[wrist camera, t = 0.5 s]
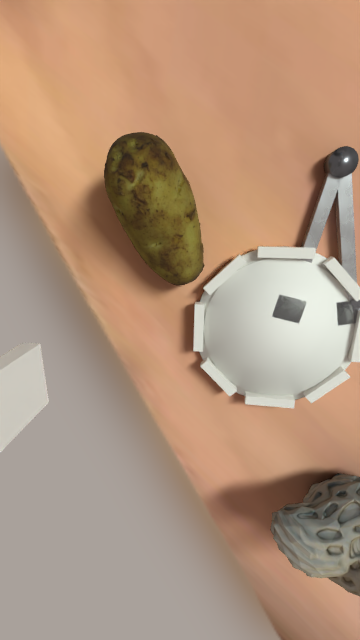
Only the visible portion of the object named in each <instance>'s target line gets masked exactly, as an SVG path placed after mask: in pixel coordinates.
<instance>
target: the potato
mask: <svg viewBox="0 0 360 640" xmlns="http://www.w3.org/2000/svg"><path fill="white" fill-rule="evenodd" d="M104 178H105V187H106V191H107V194H108V197H109V199H110V201H111V203H112V205H113V207H114V209H115V212H116V214H117V217H118V219H119V221H120V223H121V224H122V226H123V228H124V230H125V231H126V233H127V235H128V236H129V238H130V240H131V242H132V244H133V245H134V247H135V248H136V250H137V251H138V253H139V254H140V256H141V257H142V258H143V260H144V261H145V262H146V264H147V265H148V266H149V267H150V268H151V269H152V270H153V271H154V272H156V273H157V274H158V275H159V276H161V277H162V278H163V279H165V280H166V281H168V282H170V283H172V284H174V285H185V284H187V283H190V282H192V281H194V280H195V279H196V278H197V277H198V276H199V274H200V273H201V272H202V270H203V267H204V263H203V244H202V242H201V231H200V223H199V219H198V214H197V210H196V204H195V200H194V196H193V193H192V190H191V187H190V184H189V182H188V180H187V178H186V177H185V175H184V174H183V172H182V170H181V168H180V166H179V164H178V162H177V160H176V158H175V156H174V154H173V152H172V151H171V149H170V148H169V146H168V145H167V144H166V143H165V142H164V141H163V140H162V139H161V138H159V137H158V136H157V135H156V136H155V135H152V134H149V133H144V132H138V133H131V134H127V135H124V136H122V137H120V138H118V139H117V140H116V141H115V142H114V143H113V144H112V146H111V148H110V150H109V152H108V155H107V161H106V164H105V170H104Z"/></svg>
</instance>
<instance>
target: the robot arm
mask: <svg viewBox="0 0 360 640" xmlns="http://www.w3.org/2000/svg"><path fill="white" fill-rule="evenodd" d="M48 403H49V399H48V392H47V386H46V379H45V373H44V366H43V359H42V353H41V346H40V344H37V343H22V344H20V345H19V346H17V347H15V348H14V349H12V350H11V351H9V352H7V353H5V354H4V355H2V356H0V452H1V451H2V450H3V449H4V448H5V447H6V446H7V445H8V444H9V443H10V442H11V441H12V440H13V439H14V438H15V437H16V436H17V435H18V434H19V433H20V432H21V431H22V429H24V428H25V427H26V426H27V424H28V423H29V422H31V421H32V419H33V418H34V417H35V416H36V415H37V414H38V413H39V412H40V411H41V410H42V409H43V408H44V407H45V406H46V405H47V404H48Z"/></svg>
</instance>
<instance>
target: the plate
mask: <svg viewBox="0 0 360 640" xmlns="http://www.w3.org/2000/svg"><path fill="white" fill-rule="evenodd" d="M315 251H316V248H314V247H289V246H258V247H257V250H254V251H251V252H248V253H246V254H244V255H242V256H241V255H240V254H238V255H237V256H236V257H235V258H234V259H233V260H232V261H231V262H230V263H228V264H227V265H226V266H225V267H223V268H222V269H221V270H220V271H219V272H218V273H217V274H216V275H215V276H214V277H213V278H212V279H211V280H210V281H209V282H208V283H207V284H205V285H204V287H203V288H204V290H205V291H204V293H203V294H202V297H201V300H200V302H195V313H194V348H193V351H199V352H200V355H201V357H202V359H203V361H202V362H201V365H200V367H201V368H202V369H203V370H204V371H205V372H206V373H207V374H208V375H209V376H210V377H211V378H212V379H213V380H214V381H215V382H216V383H217V384H218V385H219V386H220V387H221V388H222V389H223V390H224V391H225V392H226V393H227V394H228V395H229V396H231V395H233V394H234V393H235V392H237V393H239V394H241V395H244V396H245V404H249V405H261V406H273V407H284V408H294V404H295V399H300V398H303V397H306V398H307V399H308V400H309V401H310V402H311V403H313V402H314V401H316V400H317V399H319V398H320V397H322V396H323V395H324V394H326V393H327V392H329V391H330V390H332V389H333V388H335V387H336V386H338V385H339V384H341V383H342V382H344V381H345V380H347V379H348V378H350V376H349V375H348V374H347V372H346V371H345V369H346V368H347V367H348V366H349V364H350V363H351V362H360V311H359V310H358V313H357V319H356V323H354V322H353V320H354V317H353V316H354V314H352V313H351V312H350V311H349V310H350V309H351V310H353V309H352V308H350V306H352V305H351V304H349V303H348V301H349V302H350V299H349V297H348V295H347V293H348V294H349V295H350V296H351V297H352V298H353V299H354V300H355V301H358V300H360V287H359V286H358V285H357V283H356V282H355V281H354V280H353V279H352V278H351V276H350V275H349V274H348V273H347V272H346V271H345V269H344V268H343V267H342V266H341V265H340V264H339V262H338V261H337V260H336V259H335V258H334V257H332V256H330V257H329V258H328V259H327V258H325V257H323V256H321V255H320V254H317V253H315ZM300 259H313V260H312V263H310V262H307V261H304V260H300ZM344 289H345V290H346V291H347V293H346V292H345V290H344ZM279 294H280V295H281V296H282V295H284V296H288V297H291V299H292V298H294V299H295V298H296V299H300V301H301V303H302V302H303V301H304V302H303V304H304V303H305V305H306V306H305V307H304V311H303V314H302V313H301V312H299V313H301V314H302V317H301V318H300V317H298V318H300V322H299V323H297V322H298V321H299V320H298V321H296V323H295V322H291V321H287V320H283V319H279V318H275V317H272V315H273V314H274V313H276V311H275V312H274V309H275V306H277V307H278V309H279V306H280V305H279V304H278V303H277V300H278V297H279ZM284 296H283V297H284ZM279 298H282V297H279ZM285 298H286V297H285ZM287 299H288V298H286V300H287ZM282 300H283V299H282ZM282 300H280V302H281V301H282ZM288 300H290V299H288ZM288 300H287V301H288ZM283 301H284V300H283ZM291 301H292V300H290V301H289V303H290V302H291ZM294 301H295V302H294V303H295V304H296V303H297V302H296V300H294ZM344 301H347V303H348V305H349V310H348V309H347V308H346V309H345V308H344V307H343V306H342V305H341V304H340V303H341V302H344ZM284 302H286V301H284ZM338 302H340V303H339V304H336V303H338ZM276 303H277V305H276ZM282 303H283V302H282ZM287 303H288V302H287ZM298 303H300V302H298ZM278 305H279V306H278ZM282 305H283V304H282ZM282 305H281V306H282ZM287 305H288V304H287ZM290 305H291V304H289V305H288V306H290ZM292 305H293V304H292ZM296 305H297V304H296ZM299 305H300V304H299ZM301 305H302V304H301ZM339 305H340V307H341V308H339V310H340V309H342V308H344V310H345V311H344V312H345V313H344V312H343V313H341V312H339V313H340V314H344V315H345V314H346V313H349V314H347V315H348V316H349V317H350V318H348V317H347V319H349V320H350V319H351V318H352V321H351V320H350V321H349V320H348V321H347V322H348V323H347V322H346V323H347V325H346V324H345V325H342V324H341V325H339V324H340V322H339V321H340V319H341V318H342V319H343V318H344V317H342V316H344V315H342V316H340V314H339V313H338V310H337V309H338V307H337V306H339ZM293 306H295V305H293ZM346 306H347V305H346ZM283 307H284V305H283ZM297 307H298V308H297ZM297 307H296V309H295V310H297V309H299V306H297ZM280 308H281V307H280ZM285 308H286V307H285ZM288 308H289V307H288ZM288 308H287V309H288ZM290 308H292V307H291V306H290ZM300 308H301V309H302V308H303V306H302V307H300ZM282 309H283V308H282ZM275 310H276V309H275ZM279 310H280V309H279ZM279 310H278V311H279ZM288 310H289V309H288ZM290 310H291V309H290ZM347 310H348V311H347ZM278 311H277V312H278ZM280 311H281V310H280ZM280 311H279V312H280ZM283 311H284V309H283ZM286 311H287V310H286ZM291 311H292V310H291ZM300 311H301V310H300ZM341 311H343V310H341ZM273 312H274V313H273ZM293 312H294V310H293ZM297 312H298V310H297ZM281 313H282V312H281ZM285 313H286V312H285ZM288 313H289V312H288ZM295 313H296V312H295ZM337 313H338V314H339V315H337ZM278 314H279V313H278ZM278 314H275V315H277V316H278ZM283 314H284V313H283ZM290 314H291V312H290ZM290 314H288V315H290ZM297 314H298V313H297ZM297 314H294V316H295V315H297ZM284 315H285V314H284ZM284 315H283V316H284ZM347 315H346V316H347ZM350 315H353V316H352V317H351V316H350ZM280 316H281V315H280ZM283 316H282V317H283ZM286 316H287V315H286ZM290 316H291V315H290ZM298 316H299V315H298ZM300 316H301V315H300ZM337 316H338V317H339V316H340V317H341V318H340V317H339V318H340V319H339V318H338V319H337ZM291 317H292V316H291ZM285 319H287V318H285ZM288 319H289V317H288ZM290 319H293V321H294V317H293V318H290ZM344 319H345V320H347V319H346V318H344ZM295 320H297V319H296V317H295ZM338 320H339V321H338ZM345 320H344V321H343V320H341V322H342V323H343V322H345ZM351 322H352V323H354V324H352V323H351ZM338 325H339V326H338Z"/></svg>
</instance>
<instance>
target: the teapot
mask: <svg viewBox="0 0 360 640" xmlns="http://www.w3.org/2000/svg"><path fill="white" fill-rule="evenodd" d="M271 532H272V533H273V535H274V537H273V539H274V540H275V541H276V542H277V545H278V548H279V550H280V551H281V552H282V553H284V554H285V555H286V556H287V558H288V560H289V561H290V563H291V564H292V566H293V567H294V568H296V569H299V570H301V571H303V572H304V573H306V575H307V576H310V577H317V578H326V577H327V578H329V579H330V580H331V581H333V582H335V583H336V584H338V585H340V586H341V587H343V588H344V589H345V590H347V591H348V592H350V593H353V594H355V595H358V596H360V477H357V476H350V475H346V474H339V473H338V474H337V475H335V476H334V477H333V478H332V479H331V480H329V479H328V480H325V481H323V482H321V483H316V484H313V485H312V486H311V488H310V490H309V493H308V494H307V495H306V496H305V497H304V499H303V503H297V504H287V505H286V506H284V507H283V508H282V509H280V510H279V511H277V512H274V513H272V524H271Z"/></svg>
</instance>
